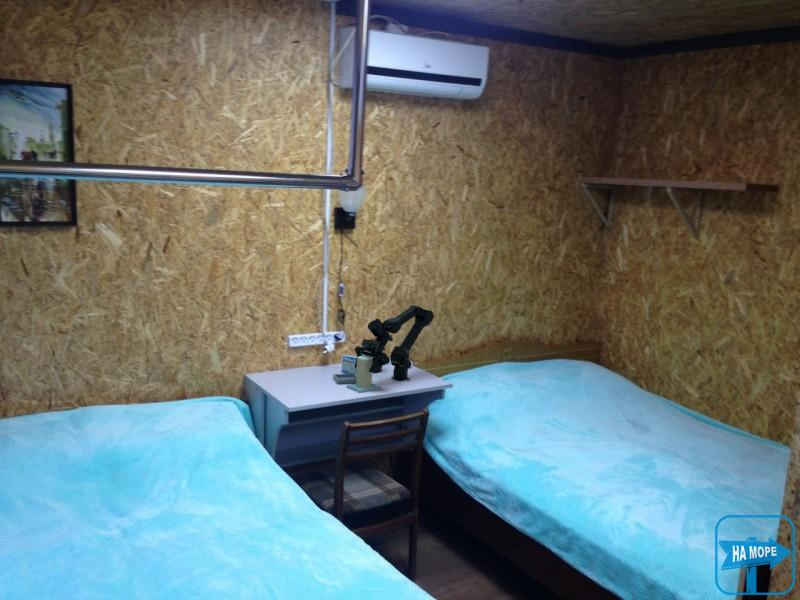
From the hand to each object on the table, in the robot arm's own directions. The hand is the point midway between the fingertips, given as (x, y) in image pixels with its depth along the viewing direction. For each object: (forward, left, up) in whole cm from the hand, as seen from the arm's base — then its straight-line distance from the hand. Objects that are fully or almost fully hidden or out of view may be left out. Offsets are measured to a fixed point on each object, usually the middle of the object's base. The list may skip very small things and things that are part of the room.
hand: (362, 369), depth 310 cm
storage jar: (-23, -23, -9) cm, 34 cm away
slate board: (-1, 0, -9) cm, 9 cm away
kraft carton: (-1, 0, -8) cm, 8 cm away
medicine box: (-11, -25, -9) cm, 29 cm away
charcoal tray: (-1, -14, -9) cm, 17 cm away
